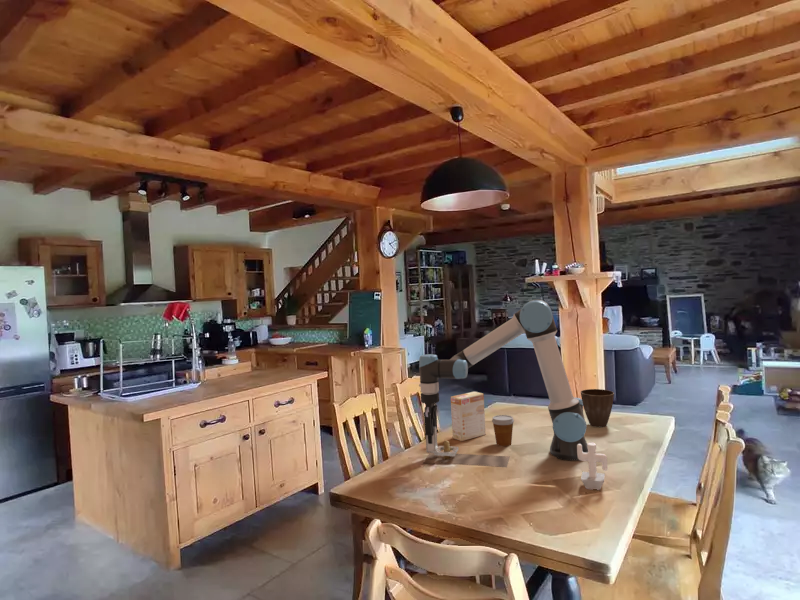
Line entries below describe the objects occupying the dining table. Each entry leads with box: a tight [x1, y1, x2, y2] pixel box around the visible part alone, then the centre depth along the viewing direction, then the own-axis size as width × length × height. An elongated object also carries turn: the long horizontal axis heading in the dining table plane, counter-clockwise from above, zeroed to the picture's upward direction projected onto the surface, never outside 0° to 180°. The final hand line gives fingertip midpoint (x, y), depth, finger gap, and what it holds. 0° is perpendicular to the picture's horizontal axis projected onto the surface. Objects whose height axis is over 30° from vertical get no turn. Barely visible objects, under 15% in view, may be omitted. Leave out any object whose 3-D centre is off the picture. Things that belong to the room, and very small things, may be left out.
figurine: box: [577, 441, 609, 491], centre depth 170 cm, size 7×9×15 cm
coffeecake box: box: [450, 391, 486, 442], centre depth 233 cm, size 15×7×20 cm, turn 123°
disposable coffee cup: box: [491, 414, 515, 447], centre depth 218 cm, size 10×10×12 cm
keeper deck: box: [422, 439, 510, 468], centre depth 201 cm, size 33×12×8 cm, turn 72°
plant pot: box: [580, 388, 615, 428], centre depth 240 cm, size 15×15×16 cm
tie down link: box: [425, 425, 459, 456], centre depth 204 cm, size 12×8×10 cm
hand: (432, 449), depth 206 cm, fingers closed on tie down link, 3 cm apart
